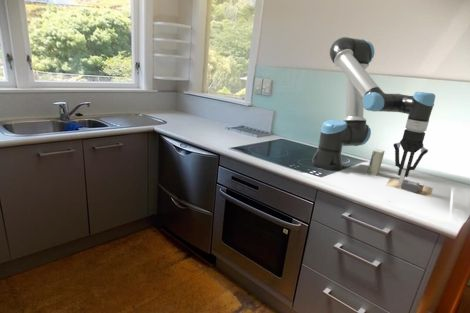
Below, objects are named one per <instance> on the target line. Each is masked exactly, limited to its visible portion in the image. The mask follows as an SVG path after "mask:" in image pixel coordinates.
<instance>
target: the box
mask: <svg viewBox="0 0 470 313" xmlns="http://www.w3.org/2000/svg"><path fill="white" fill-rule="evenodd" d="M384 155H385V150H383V149H382V150H381V149H378V148H375V149H373V150H372V153H371V158H370V161H369V164H368V169H367V174H370V175H372V176H373V175H374V176H378V175H379V174H380V170H381V167H382V162H383V159H384Z"/></svg>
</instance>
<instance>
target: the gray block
mask: <svg viewBox="0 0 470 313" xmlns="http://www.w3.org/2000/svg"><path fill="white" fill-rule="evenodd" d="M419 185H421V184H420V183H419V182H415V181H412V180H408V179H404V181H403V182H402V186H401V189H400V190H402V189H403V190H402V191H405V190H407V192H409V191H411V192H410V193H412V192H414V193H413V194H416V193H417V191H418V188H419Z"/></svg>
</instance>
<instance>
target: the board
mask: <svg viewBox="0 0 470 313" xmlns="http://www.w3.org/2000/svg"><path fill="white" fill-rule="evenodd" d="M399 179H400V178H396V177H392V176H391V177H390V178H389V179H388V181H387V182H386V184H385V186H388V187H392V188H396V189H398V190H401V191H404V192H406V191H407V190H403V189H401V186H402V184H399ZM433 189H434V187H431V186H426V185H421V184H419V188H418V191H417V193H414V192H411V191H407V192H409V193H413V194H417V195H420V196H423V197H427V198H432V194H433Z"/></svg>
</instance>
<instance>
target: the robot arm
mask: <svg viewBox="0 0 470 313" xmlns="http://www.w3.org/2000/svg"><path fill="white" fill-rule="evenodd" d="M374 56H375V47H374V45H373V44H372V43H371V41H369V40H366V39H360V38H359V39H358V38H353V37H347V36H344V37H340V38H337V39H336V40H335V41H333V43H332V44H331V46H330V49H329V57H330V59H331V61H332V63H333V65H334V66H336V67H338V68H340V70H341V71H342V73H343V74H344V76H346V93H345V95H346V96H345V99H346V100H345V117H344V118H343V119H342V120H340V119H329V120H326V121H324V122H323V123H322V126H321V129H320V135H319V139H318V140H319V141H318V146H317V150H316V152H315V154H314V155H313V157H312V161H311V163H312V165H313V166H315V167H317V168H320V169H323V170H324V169H325V170H328V171H329V170H330V171H331V170H332V171H338V170H341V169H342V168H343V158H342V150H343V147H351V146H352V147H358V146H359V147H360V146H364V145H365V144H366V143H367V142H369V140H370V138H371V135H372V132H371V131H372V130H371V128H370V126H369V125H368V124H367V119H366V118H365V117H364V110H366V111H369V112H374V113H375V112H388V113H401V114H407V115H408V117H407V120H406V123H405V129H404V131H403V133H402V134H403V135H402V138H401V140H400V141H399V142H395V143H393V147H394V156H395V157H394V160H395V163H394V164H395V167H397V168H398V172H397V176H399V178H398V179H399V184H402V182H403V181H404V180H405V178H408V177H409V174H410V171H411V170H412V171H415V170H416V168H417V166H418V165H419V163H420V161H421V160H422V159H423V156H424V155H426V154H428V152H429V149H428V148H425V147H424V139H425V136H426V133H425V132H427V129H428V126H429V122H430V118H431V114H432V111H433V108H434V106H435V100H436V94H435V93H432V92H425V91H423V92H422V91H415V92H414V94H413V95H407V94H401V93H385V92H384V91H383V90H382V89H381V87H380V86H379V85H378V84H377V83H376V81H375V80H374V79H373V78H372V76H371V75H370V74H369V73H368V71H366V69H367V68H368V67H369V64H370V63H371V62H372V61H373V59H374ZM400 147H401V148H402V151H403V154H402V158H401V161H400ZM418 151H420V154H419V156H418V157H417V159H416V160H415V162H414V164H413V165H412V163H413V160H414V156H415V153H417V152H418ZM408 152H409V153H410V154H409V157H408V161H407V165H406V168H405V164H406V163H405V162H406V160H407V156H408Z"/></svg>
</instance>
